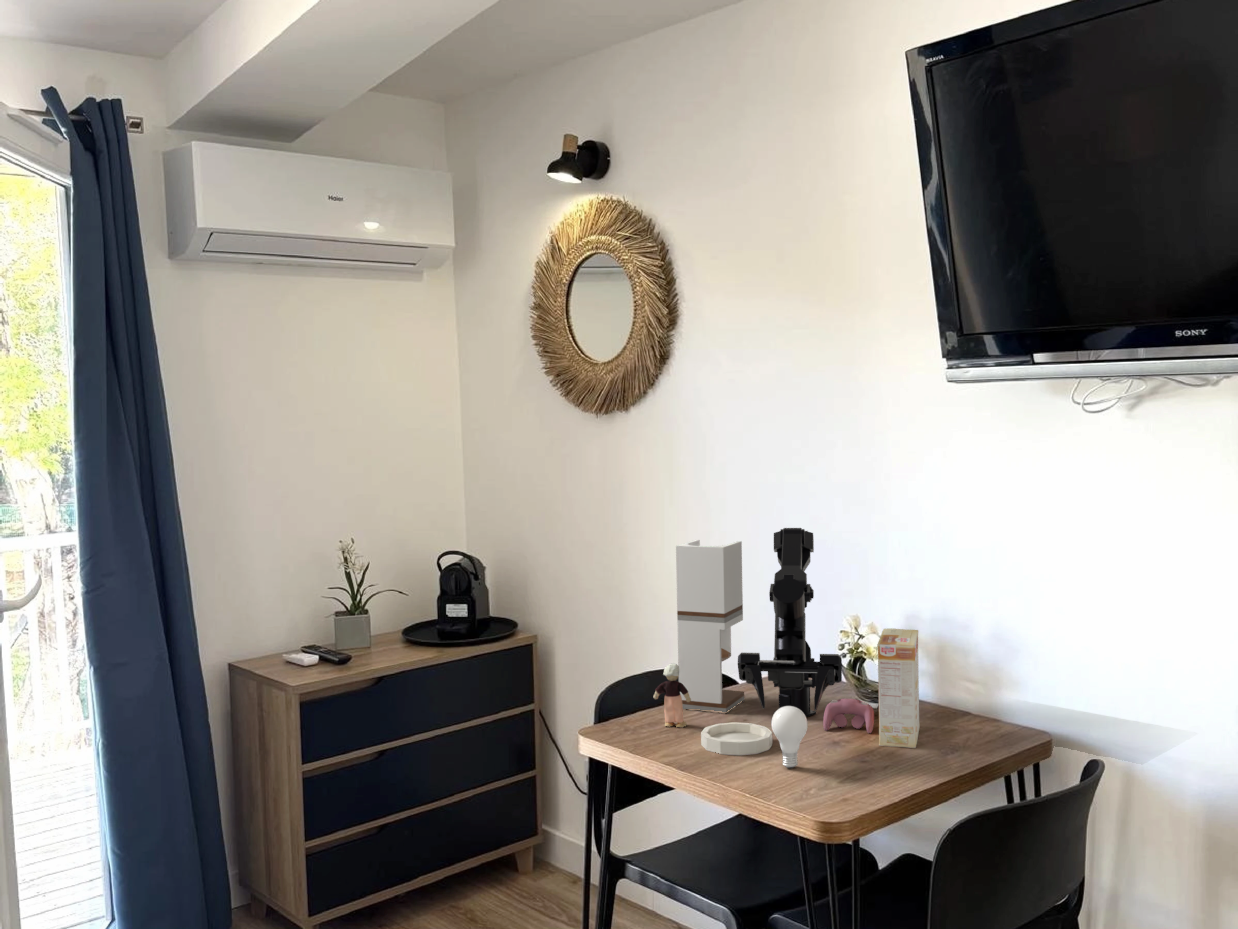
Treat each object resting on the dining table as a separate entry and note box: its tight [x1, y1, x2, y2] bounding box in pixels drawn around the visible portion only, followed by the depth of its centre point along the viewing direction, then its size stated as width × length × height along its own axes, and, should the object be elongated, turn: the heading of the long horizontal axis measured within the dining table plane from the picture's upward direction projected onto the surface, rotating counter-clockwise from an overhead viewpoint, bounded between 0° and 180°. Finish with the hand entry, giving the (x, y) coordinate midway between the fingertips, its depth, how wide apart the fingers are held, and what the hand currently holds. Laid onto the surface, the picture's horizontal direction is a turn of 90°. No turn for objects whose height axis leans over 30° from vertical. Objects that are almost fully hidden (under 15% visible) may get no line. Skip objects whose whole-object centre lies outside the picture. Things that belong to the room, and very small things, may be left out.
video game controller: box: [822, 697, 875, 734], centre depth 223 cm, size 10×5×7 cm, turn 72°
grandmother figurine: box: [653, 662, 691, 728], centre depth 227 cm, size 8×4×13 cm, turn 84°
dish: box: [700, 721, 773, 756], centre depth 214 cm, size 13×13×2 cm
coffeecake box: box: [877, 627, 920, 749], centre depth 217 cm, size 15×7×20 cm, turn 162°
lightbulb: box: [770, 706, 809, 769], centre depth 199 cm, size 6×6×11 cm
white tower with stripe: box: [675, 539, 745, 712], centre depth 242 cm, size 11×11×35 cm
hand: (789, 708), depth 201 cm, fingers open, 9 cm apart
